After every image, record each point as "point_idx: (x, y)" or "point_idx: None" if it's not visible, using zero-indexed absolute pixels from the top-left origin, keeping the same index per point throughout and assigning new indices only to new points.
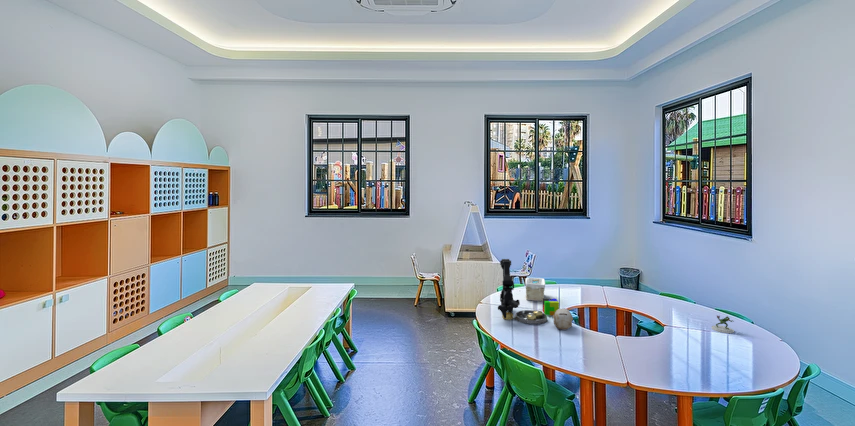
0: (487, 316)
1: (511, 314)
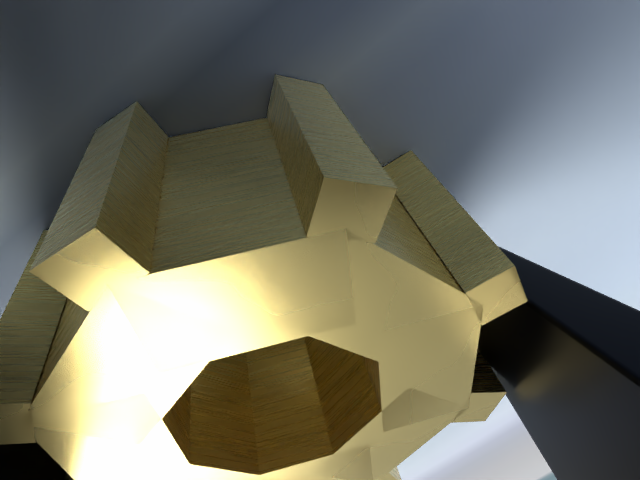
0: (479, 476)
1: (197, 250)
